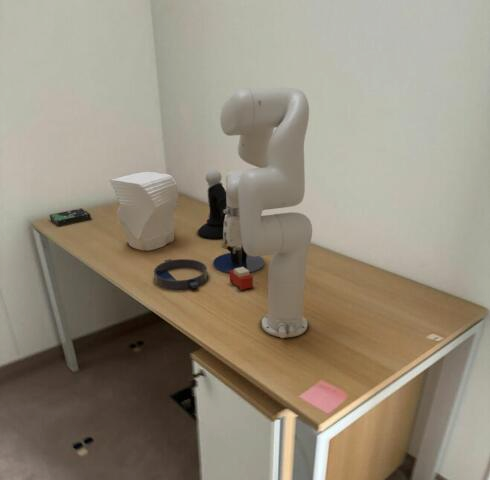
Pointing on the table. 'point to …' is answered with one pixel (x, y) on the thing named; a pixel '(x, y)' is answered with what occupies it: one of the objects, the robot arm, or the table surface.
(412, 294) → the table surface
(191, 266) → the pot
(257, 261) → the lid
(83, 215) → the disk drive
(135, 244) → the paper stack
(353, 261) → the table surface
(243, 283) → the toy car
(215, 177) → the sculpture
